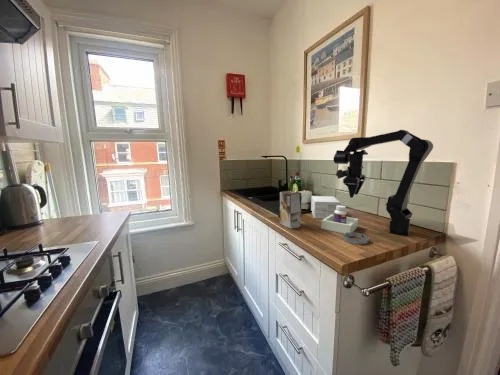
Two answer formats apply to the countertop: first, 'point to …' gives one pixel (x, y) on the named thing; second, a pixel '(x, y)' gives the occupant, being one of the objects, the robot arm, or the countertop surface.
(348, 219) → the bin
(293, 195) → the coffee box
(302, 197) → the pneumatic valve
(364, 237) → the collar
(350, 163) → the robot arm
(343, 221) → the pill bottle
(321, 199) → the supplement box
